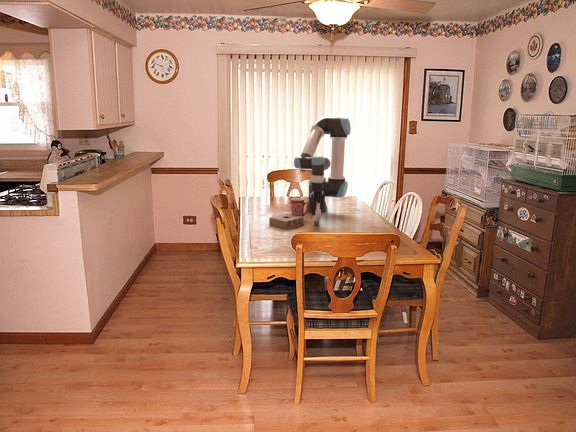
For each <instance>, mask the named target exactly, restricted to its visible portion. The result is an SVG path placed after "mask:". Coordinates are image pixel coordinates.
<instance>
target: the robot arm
mask: <svg viewBox="0 0 576 432" xmlns="http://www.w3.org/2000/svg"><path fill="white" fill-rule="evenodd" d="M351 127H352V126H351V121H350V119H349V118H348V117H346V116H324V117H321V118H319V119H317V120H316V121H315V122H314V124H313V125H312V126H311V127H310V128H311V129H310V134H309V136H308V138H307V141H306V143H305V145H304V147H303V150H302V152H301V153H300V156H295V157H294V160H293V166H294V167H295V169H299V170H311V178H310V179H309V181H308V198H307V199H308V200H307V202H309V204H310V209H309V211H308V212H309V213H311V214H312V217H311V218H312V221H314V220H315V221H317V210H316V205H317V203H320V214H319V221H320V220H321V217H322V216H321V215H322V213H326V212H328V206H327V203H326V197H328V198H336V199H337V198H340V199H341V198H343V199H344V197H345V196H346V194H347V191H348V188H349V187H348V186H349V185H348V181H347V180H346V177H345V176H344V170H345V169H344V168H345V164H344V163H345V147H346V140H347V139H348V136H350V135H351V130H352V128H351ZM325 135H329V137H330V139H331V158H330V159H329V158H328V157H324V156H323V155H322V156H321V155H315V153H316V151H317V148H318V146H319V144H320V141H321V139H322V138H323V137H324V136H325ZM329 168H330V175H329V176H328V177H327V178H326V177H325V171H326V170H328V169H329ZM308 208H309V205H308V204H307V203H306V206H305V211H306V212H307V210H308ZM308 212H307V213H308Z"/></svg>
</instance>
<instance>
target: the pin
mask: <svg viewBox="0 0 576 432" xmlns="http://www.w3.org/2000/svg"><path fill="white" fill-rule="evenodd" d="M316 210H317V221H315V220H313V226H314V227H319V226H320V220H319V214H320V203H317V205H316Z"/></svg>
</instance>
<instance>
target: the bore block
mask: <svg viewBox="0 0 576 432" xmlns="http://www.w3.org/2000/svg"><path fill="white" fill-rule="evenodd" d="M304 218H305V216H304V217H301V216H296V215H292V213H284V214H279V215H275V216H269V218H268V219H269V221H268V222H269V224H268V225H270V226H269V227H273V226H274V227H275V228H277V229H282V230H290V229H294V228H297V227H301V226H304V224H305V219H304ZM274 227H273V228H274Z"/></svg>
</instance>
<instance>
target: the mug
mask: <svg viewBox="0 0 576 432" xmlns="http://www.w3.org/2000/svg"><path fill="white" fill-rule="evenodd" d="M307 204H308V205H309V208H308V210H307V211H306V212H305V213H304V210H305V205H307ZM290 209H291V213H290V214H292V215H296V216H301V217H304V218H305V216H306V215H307V214H308V211H309V209H310V204H309V202H308V201H305V198H303V197H293V198H290Z"/></svg>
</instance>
